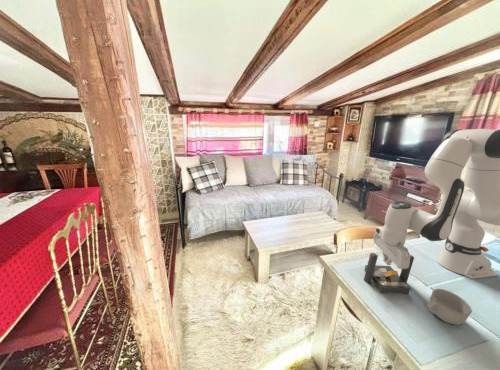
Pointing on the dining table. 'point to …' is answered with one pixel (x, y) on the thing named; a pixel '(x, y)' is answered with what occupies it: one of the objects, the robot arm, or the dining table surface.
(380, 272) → the paddle right
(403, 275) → the post
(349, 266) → the dining table surface
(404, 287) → the black flat block
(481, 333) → the dining table surface
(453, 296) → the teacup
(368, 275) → the post
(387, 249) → the robot arm
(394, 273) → the paddle centre
